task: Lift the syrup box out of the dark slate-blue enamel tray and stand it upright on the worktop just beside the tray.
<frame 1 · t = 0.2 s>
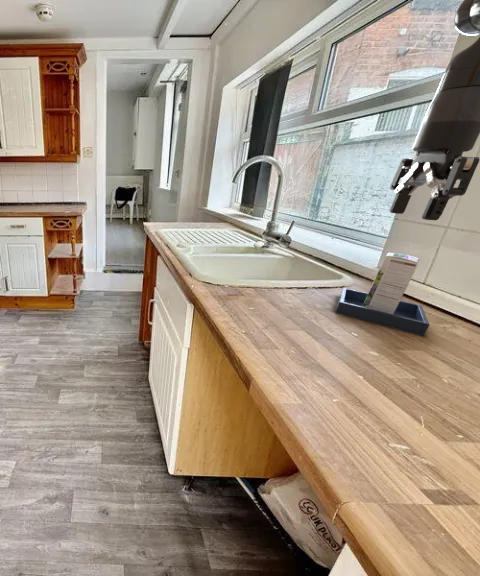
hand: (411, 216, 59), 25 cm above the countertop, tool pointing down, fingers open, 8 cm apart
tray: (376, 314, 75), on the countertop
syrup box: (376, 313, 75), resting on tray
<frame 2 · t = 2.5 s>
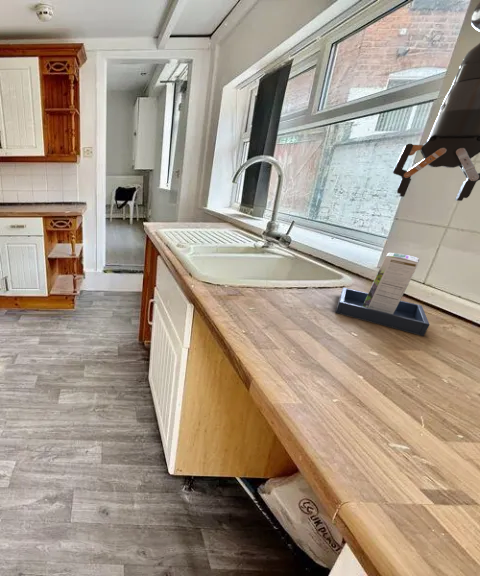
hand: (428, 198, 64), 28 cm above the countertop, tool pointing down, fingers open, 8 cm apart
nothing on the countertop moved.
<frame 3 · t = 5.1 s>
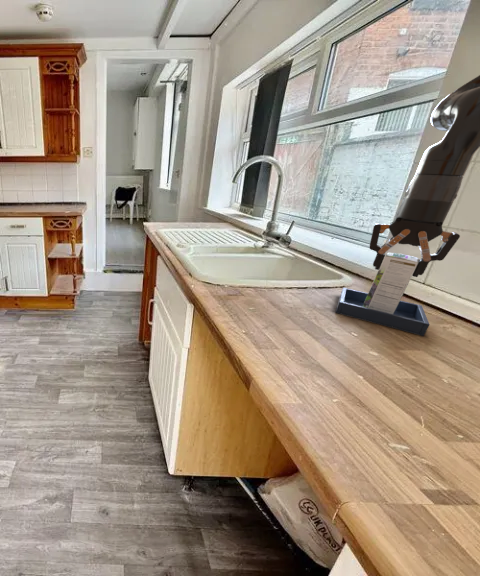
hand: (395, 272, 71), 11 cm above the countertop, tool pointing down, fingers closed on syrup box, 6 cm apart
syrup box: (376, 313, 75), resting on tray, touching gripper
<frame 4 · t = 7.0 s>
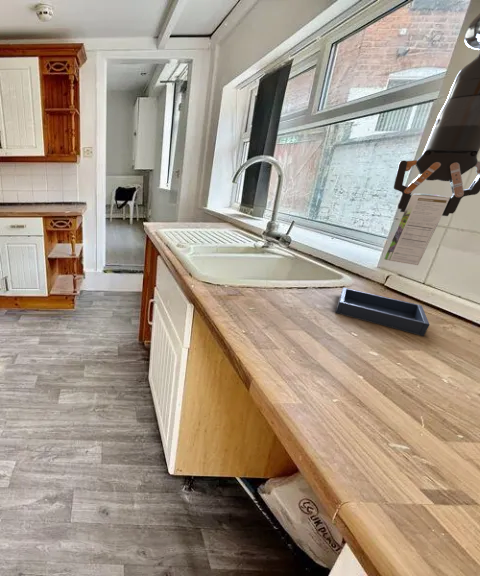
hand: (422, 213, 66), 25 cm above the countertop, tool pointing down, fingers closed on syrup box, 6 cm apart
syrup box: (401, 261, 70), point 14 cm above the countertop, touching gripper
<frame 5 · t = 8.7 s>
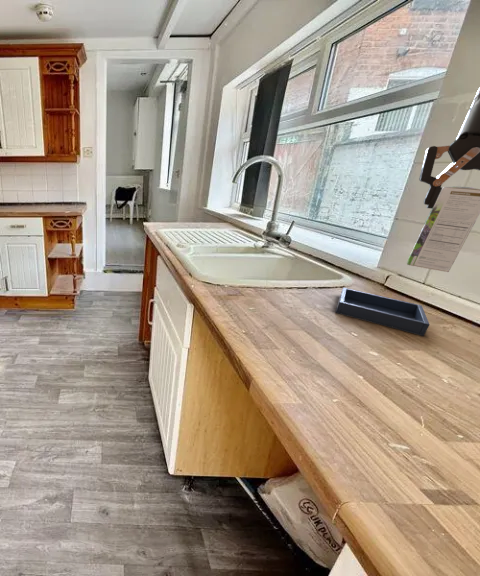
hand: (454, 210, 55), 27 cm above the countertop, tool pointing down, fingers closed on syrup box, 6 cm apart
syrup box: (427, 267, 59), point 16 cm above the countertop, touching gripper
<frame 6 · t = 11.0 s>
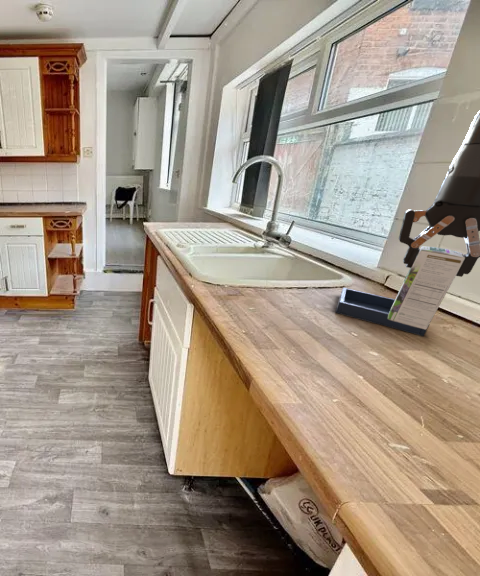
hand: (432, 270, 57), 16 cm above the countertop, tool pointing down, fingers closed on syrup box, 6 cm apart
syrup box: (406, 321, 61), point 5 cm above the countertop, touching gripper
when the fingers open (11 cm above the countertop, at t = 12.8 s): syrup box stays where it is, on the countertop.
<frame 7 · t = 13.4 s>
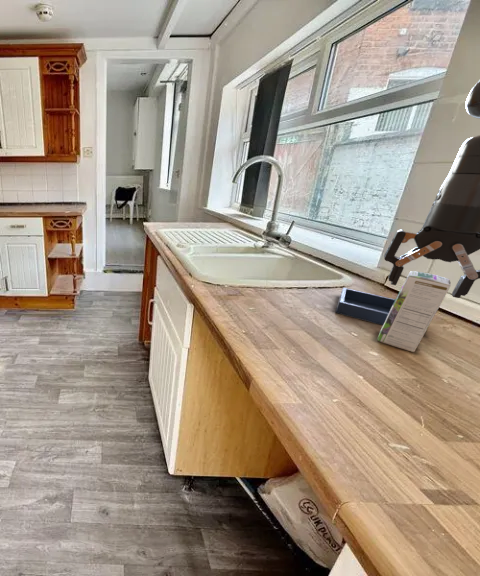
hand: (422, 290, 58), 12 cm above the countertop, tool pointing down, fingers open, 8 cm apart
syrup box: (396, 343, 63), on the countertop
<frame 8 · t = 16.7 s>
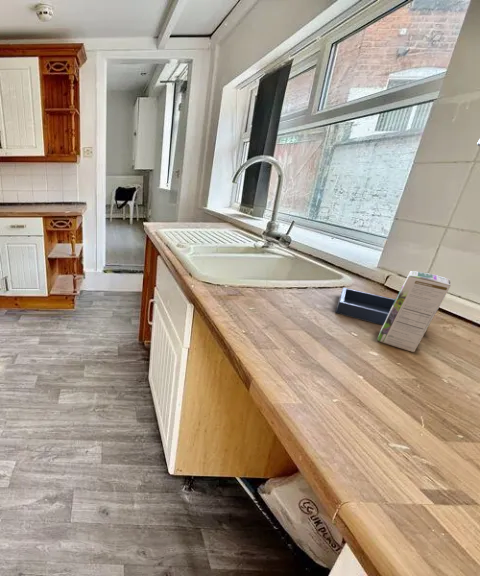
nothing on the countertop moved.
at the end: syrup box inside the target area (0.1 cm from its centre), on the countertop; syrup box touching countertop; syrup box tilted 0° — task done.
